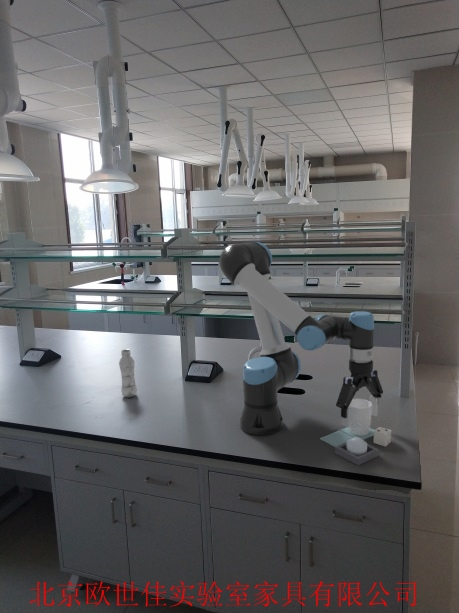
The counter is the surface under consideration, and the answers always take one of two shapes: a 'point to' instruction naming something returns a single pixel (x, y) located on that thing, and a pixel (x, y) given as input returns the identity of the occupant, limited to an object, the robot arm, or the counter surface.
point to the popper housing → (358, 460)
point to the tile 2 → (346, 430)
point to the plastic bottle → (127, 374)
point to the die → (382, 436)
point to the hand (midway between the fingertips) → (359, 420)
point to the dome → (357, 446)
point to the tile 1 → (336, 438)
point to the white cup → (360, 417)
